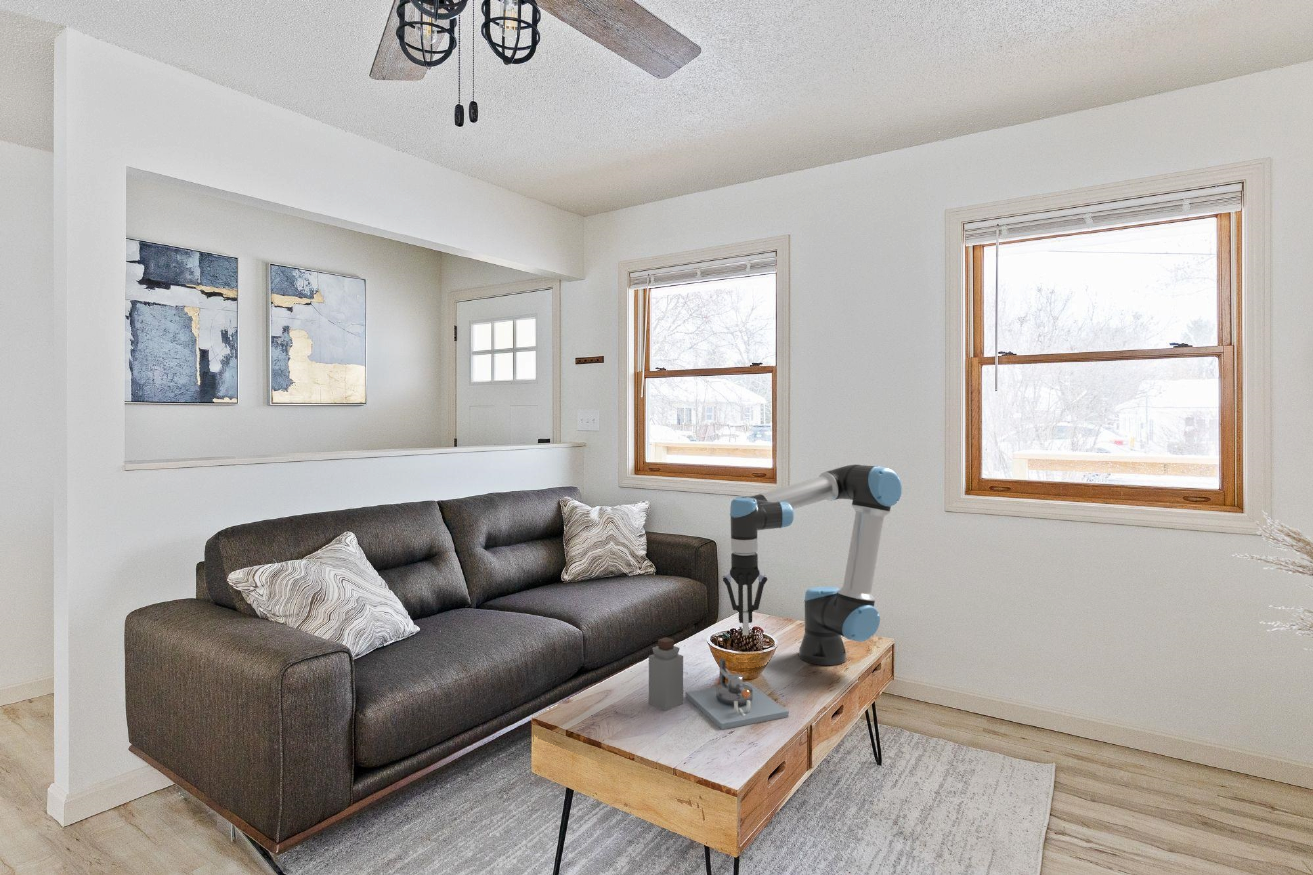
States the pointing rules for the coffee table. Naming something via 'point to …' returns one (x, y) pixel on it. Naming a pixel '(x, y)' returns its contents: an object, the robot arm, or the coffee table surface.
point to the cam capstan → (732, 687)
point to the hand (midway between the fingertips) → (745, 633)
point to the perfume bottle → (666, 675)
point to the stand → (736, 708)
